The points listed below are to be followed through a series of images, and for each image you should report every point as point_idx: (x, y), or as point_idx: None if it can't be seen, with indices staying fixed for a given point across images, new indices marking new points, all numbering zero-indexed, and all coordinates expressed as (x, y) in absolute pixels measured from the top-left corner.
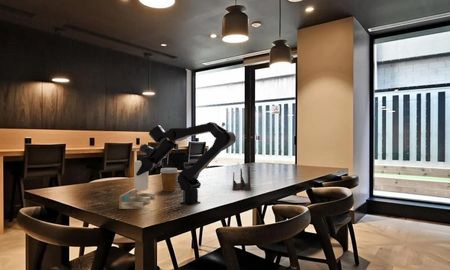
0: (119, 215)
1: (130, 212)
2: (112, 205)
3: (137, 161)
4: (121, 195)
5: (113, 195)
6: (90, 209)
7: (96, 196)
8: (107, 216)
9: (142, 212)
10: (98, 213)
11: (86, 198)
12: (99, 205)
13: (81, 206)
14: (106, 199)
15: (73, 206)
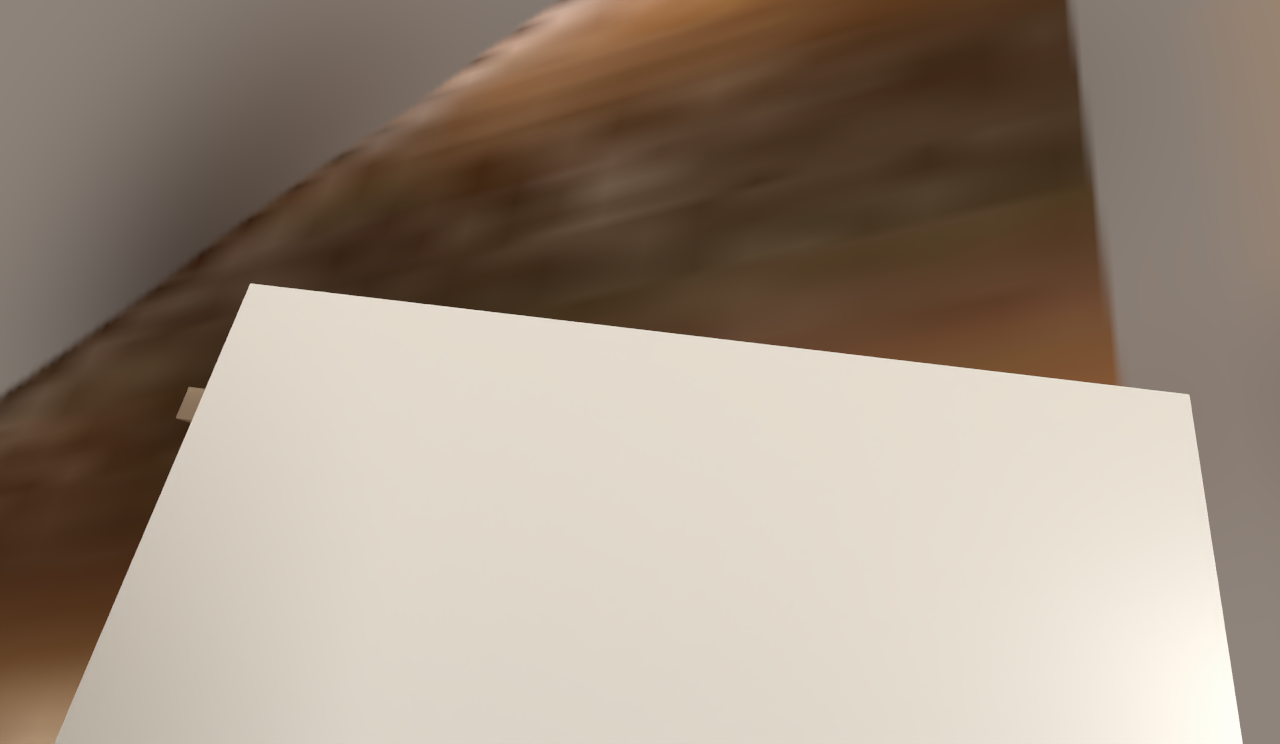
0: (20, 485)
1: (89, 574)
2: None
3: (170, 513)
4: None
5: (1046, 208)
6: (353, 187)
7: (970, 64)
8: (36, 388)
9: (29, 715)
10: (177, 289)
11: (858, 16)
12: (501, 211)
13: (494, 89)
14: (796, 196)
15: (509, 36)
